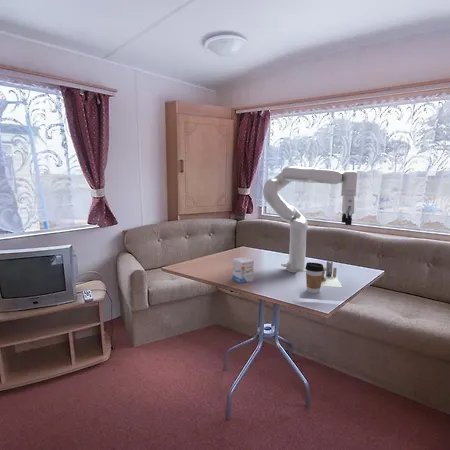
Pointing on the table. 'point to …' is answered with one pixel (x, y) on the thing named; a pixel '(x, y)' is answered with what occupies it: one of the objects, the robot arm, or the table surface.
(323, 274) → the bobbin
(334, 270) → the notched rail
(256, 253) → the table surface
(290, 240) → the robot arm
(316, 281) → the coffee cup
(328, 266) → the peg
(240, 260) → the ink box
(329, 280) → the base board
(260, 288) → the table surface
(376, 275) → the table surface
